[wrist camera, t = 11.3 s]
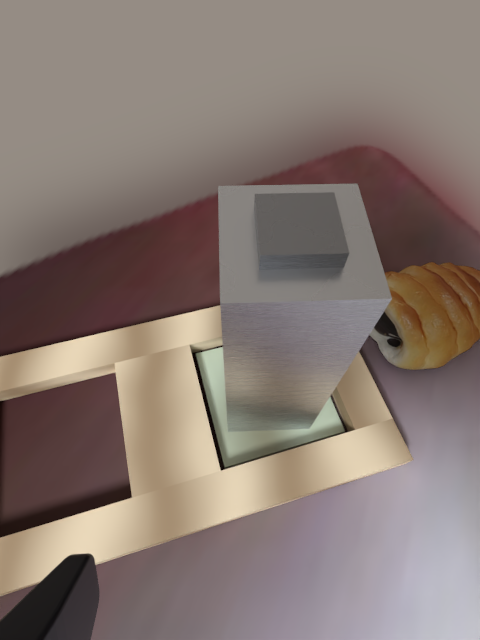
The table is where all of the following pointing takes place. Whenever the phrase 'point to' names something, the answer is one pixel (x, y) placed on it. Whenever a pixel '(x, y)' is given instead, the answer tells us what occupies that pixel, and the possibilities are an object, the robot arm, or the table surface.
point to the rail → (188, 443)
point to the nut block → (293, 298)
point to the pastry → (429, 315)
